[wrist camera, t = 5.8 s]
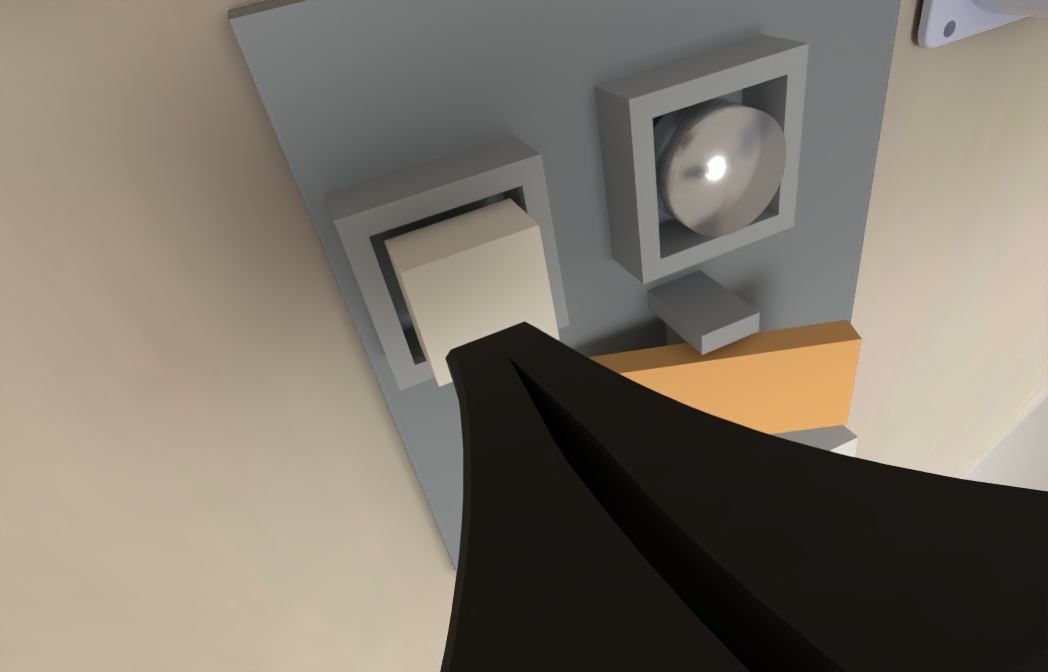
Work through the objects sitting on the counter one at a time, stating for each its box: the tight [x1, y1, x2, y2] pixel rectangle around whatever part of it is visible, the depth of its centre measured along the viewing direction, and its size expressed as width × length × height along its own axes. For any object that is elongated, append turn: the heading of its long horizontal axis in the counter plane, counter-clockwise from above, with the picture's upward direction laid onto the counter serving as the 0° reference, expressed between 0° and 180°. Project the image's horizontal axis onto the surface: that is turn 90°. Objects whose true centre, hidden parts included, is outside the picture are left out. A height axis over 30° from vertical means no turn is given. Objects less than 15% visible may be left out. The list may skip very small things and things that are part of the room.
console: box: [228, 0, 901, 573], centre depth 21 cm, size 18×22×5 cm
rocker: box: [589, 320, 862, 434], centre depth 20 cm, size 8×4×1 cm, turn 101°
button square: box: [384, 198, 560, 387], centre depth 15 cm, size 3×3×2 cm
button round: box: [653, 97, 786, 237], centre depth 17 cm, size 3×3×2 cm
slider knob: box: [771, 425, 858, 457], centre depth 26 cm, size 2×2×3 cm
